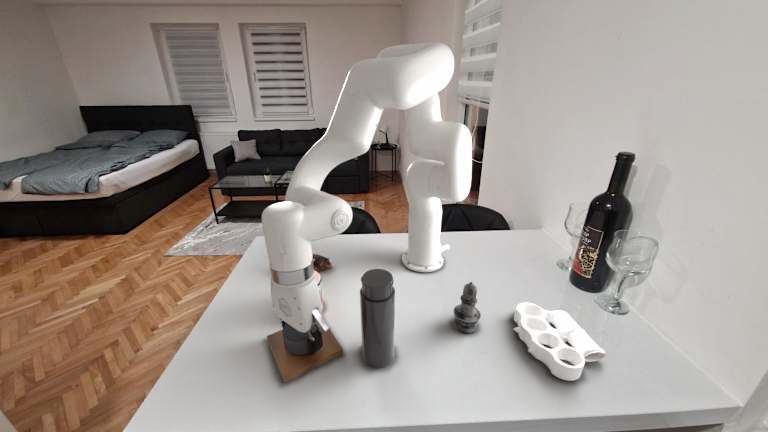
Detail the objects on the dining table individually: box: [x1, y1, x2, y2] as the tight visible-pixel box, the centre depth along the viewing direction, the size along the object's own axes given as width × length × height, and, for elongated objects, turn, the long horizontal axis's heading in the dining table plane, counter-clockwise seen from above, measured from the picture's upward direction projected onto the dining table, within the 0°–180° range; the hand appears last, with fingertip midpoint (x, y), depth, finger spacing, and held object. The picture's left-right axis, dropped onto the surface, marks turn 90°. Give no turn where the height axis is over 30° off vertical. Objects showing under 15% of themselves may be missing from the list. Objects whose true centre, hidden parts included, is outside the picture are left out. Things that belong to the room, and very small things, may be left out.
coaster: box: [266, 328, 344, 384], centre depth 63 cm, size 12×12×2 cm
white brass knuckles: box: [512, 302, 607, 382], centre depth 64 cm, size 3×18×15 cm
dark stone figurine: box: [453, 281, 482, 335], centre depth 67 cm, size 6×6×12 cm
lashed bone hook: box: [312, 253, 333, 272], centre depth 90 cm, size 9×5×18 cm
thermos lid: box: [281, 323, 317, 355], centre depth 62 cm, size 7×7×4 cm
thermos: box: [359, 268, 396, 369], centre depth 58 cm, size 6×6×19 cm
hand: (303, 340), depth 63 cm, fingers closed on thermos lid, 7 cm apart
